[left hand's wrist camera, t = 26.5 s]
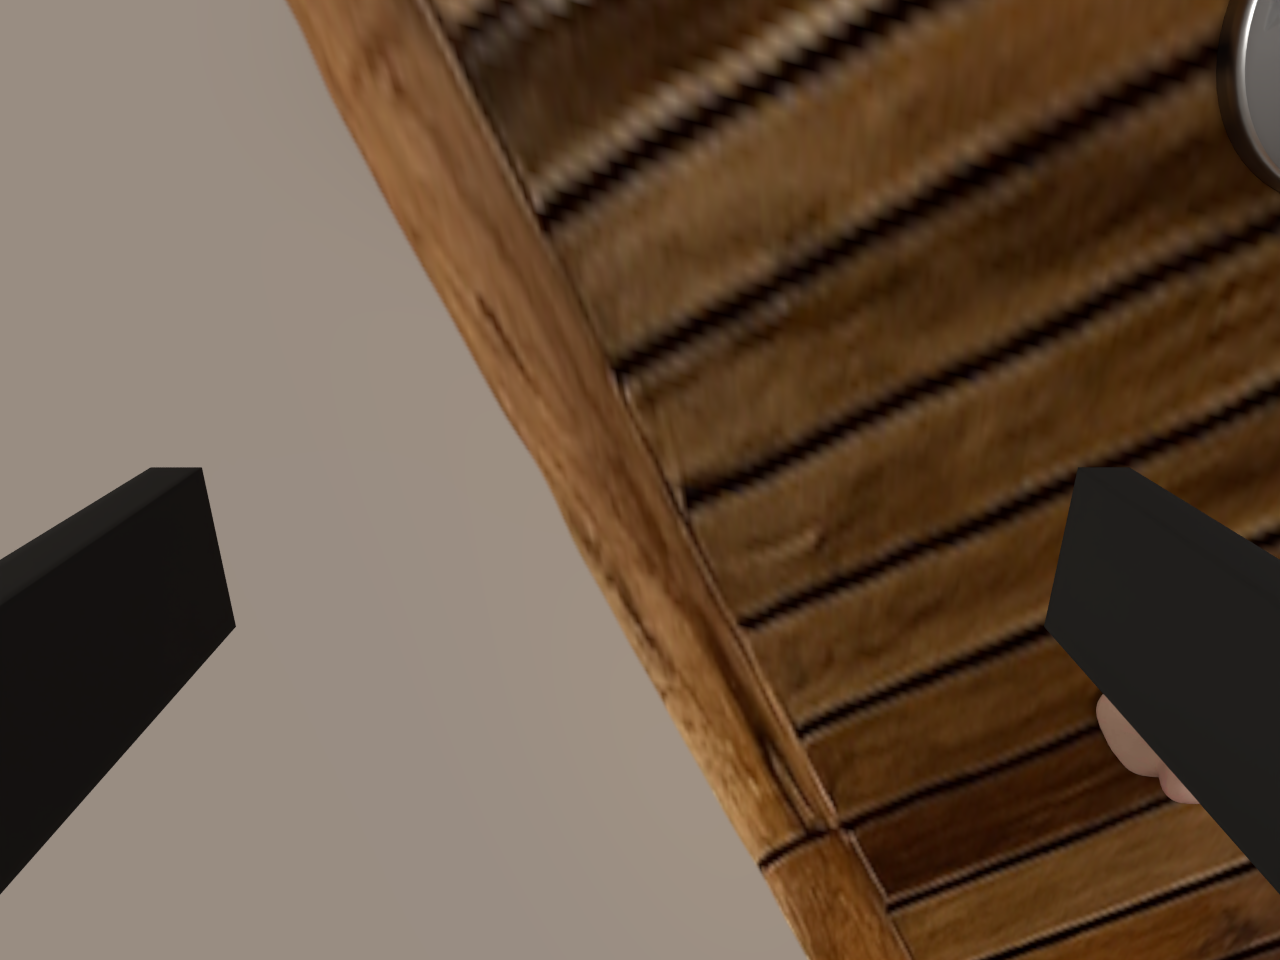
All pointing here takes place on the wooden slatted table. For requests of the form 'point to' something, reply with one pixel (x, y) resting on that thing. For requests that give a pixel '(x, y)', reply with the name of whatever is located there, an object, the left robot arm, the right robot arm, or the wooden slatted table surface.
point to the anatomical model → (1138, 752)
